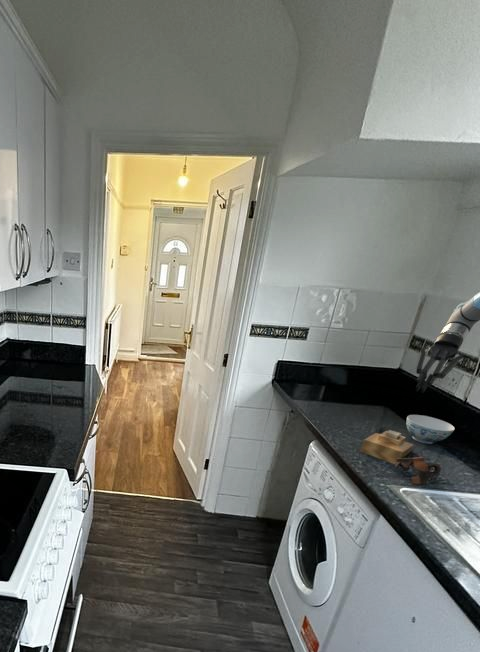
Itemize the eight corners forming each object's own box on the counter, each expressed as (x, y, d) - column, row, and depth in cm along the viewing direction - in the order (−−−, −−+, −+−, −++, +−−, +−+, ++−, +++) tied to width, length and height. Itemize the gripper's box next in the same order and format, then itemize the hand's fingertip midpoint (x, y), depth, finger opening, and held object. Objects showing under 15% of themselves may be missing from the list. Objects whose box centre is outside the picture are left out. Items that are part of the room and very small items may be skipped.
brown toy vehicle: (402, 485, 129) (399, 458, 130) (390, 483, 138) (387, 458, 139) (448, 483, 126) (445, 456, 126) (433, 481, 135) (429, 456, 135)
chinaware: (398, 429, 171) (405, 411, 168) (442, 439, 165) (451, 421, 162) (401, 441, 160) (409, 423, 156) (449, 453, 153) (458, 434, 150)
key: (399, 437, 146) (401, 433, 146) (396, 440, 144) (397, 435, 143) (388, 434, 149) (389, 429, 148) (384, 436, 147) (386, 432, 146)
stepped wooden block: (408, 457, 147) (415, 439, 144) (397, 465, 140) (405, 447, 138) (371, 445, 155) (377, 428, 153) (359, 452, 149) (365, 434, 146)
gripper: (473, 349, 149) (442, 401, 146) (427, 342, 159) (397, 390, 155) (476, 336, 144) (444, 389, 140) (428, 329, 153) (397, 378, 150)
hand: (419, 389), depth 148 cm, fingers closed
